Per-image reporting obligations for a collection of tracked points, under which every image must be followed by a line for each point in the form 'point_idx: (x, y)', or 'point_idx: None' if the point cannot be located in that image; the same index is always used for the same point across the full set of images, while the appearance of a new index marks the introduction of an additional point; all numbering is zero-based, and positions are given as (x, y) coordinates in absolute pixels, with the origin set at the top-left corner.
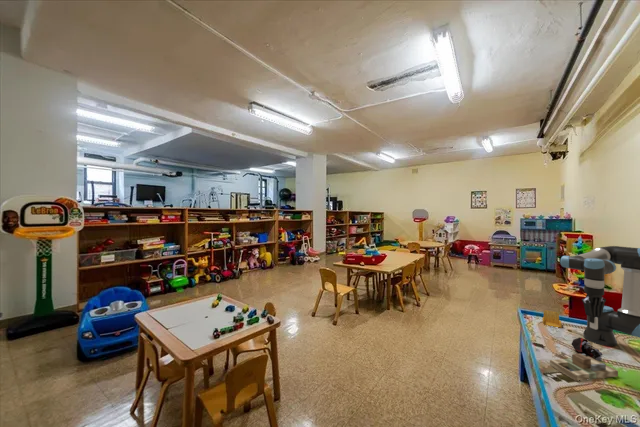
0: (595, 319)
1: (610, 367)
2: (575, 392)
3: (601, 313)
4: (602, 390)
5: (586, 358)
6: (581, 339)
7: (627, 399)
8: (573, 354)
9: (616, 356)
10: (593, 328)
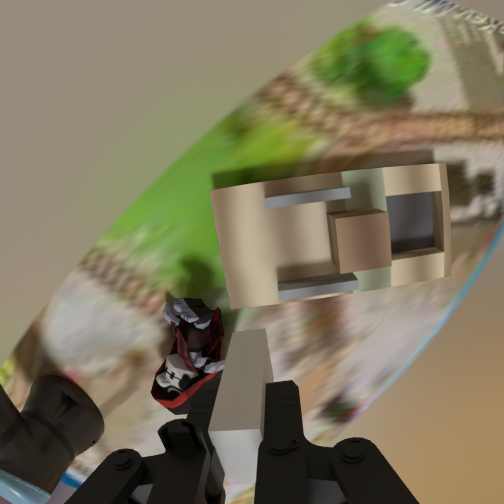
0: (260, 411)
1: (218, 217)
2: (480, 110)
3: (106, 480)
4: (383, 103)
5: (355, 224)
6: (182, 400)
7: (336, 54)
8: (387, 265)
9: (87, 324)
10: (268, 348)
